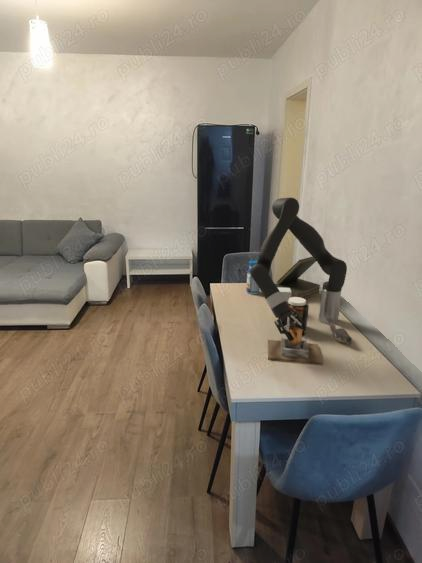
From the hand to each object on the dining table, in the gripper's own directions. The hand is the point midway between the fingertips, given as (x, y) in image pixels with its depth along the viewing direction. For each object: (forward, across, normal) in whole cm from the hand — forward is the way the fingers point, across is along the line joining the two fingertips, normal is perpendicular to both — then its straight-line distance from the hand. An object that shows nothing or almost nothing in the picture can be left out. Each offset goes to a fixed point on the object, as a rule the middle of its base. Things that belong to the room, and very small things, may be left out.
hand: (298, 337), depth 154 cm
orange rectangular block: (+4, 0, +6) cm, 7 cm away
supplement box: (-17, +34, +28) cm, 48 cm away
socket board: (+4, 0, +6) cm, 8 cm away
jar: (-5, +21, +16) cm, 27 cm away
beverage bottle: (-38, +45, +49) cm, 77 cm away
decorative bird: (+8, +29, +3) cm, 30 cm away
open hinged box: (-25, +64, +36) cm, 78 cm away
